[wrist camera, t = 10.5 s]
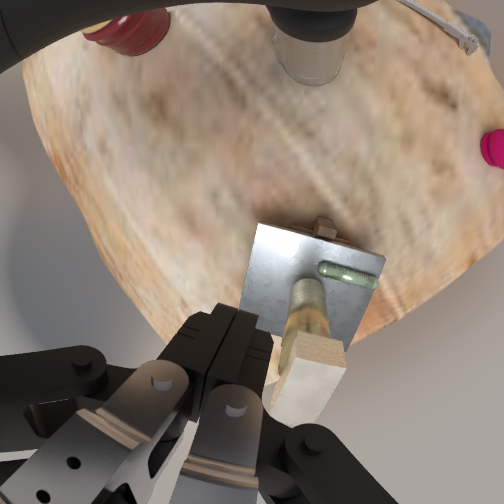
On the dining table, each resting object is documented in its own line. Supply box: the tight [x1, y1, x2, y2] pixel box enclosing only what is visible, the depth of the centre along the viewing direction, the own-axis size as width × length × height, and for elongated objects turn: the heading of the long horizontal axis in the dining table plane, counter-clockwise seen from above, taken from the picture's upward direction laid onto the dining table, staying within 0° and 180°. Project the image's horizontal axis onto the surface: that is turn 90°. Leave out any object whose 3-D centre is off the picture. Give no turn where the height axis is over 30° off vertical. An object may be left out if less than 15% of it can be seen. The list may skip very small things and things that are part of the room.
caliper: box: [398, 0, 479, 55], centre depth 26 cm, size 20×1×6 cm, turn 57°
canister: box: [80, 8, 170, 56], centre depth 31 cm, size 13×13×18 cm
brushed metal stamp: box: [238, 221, 386, 426], centre depth 30 cm, size 18×16×21 cm
